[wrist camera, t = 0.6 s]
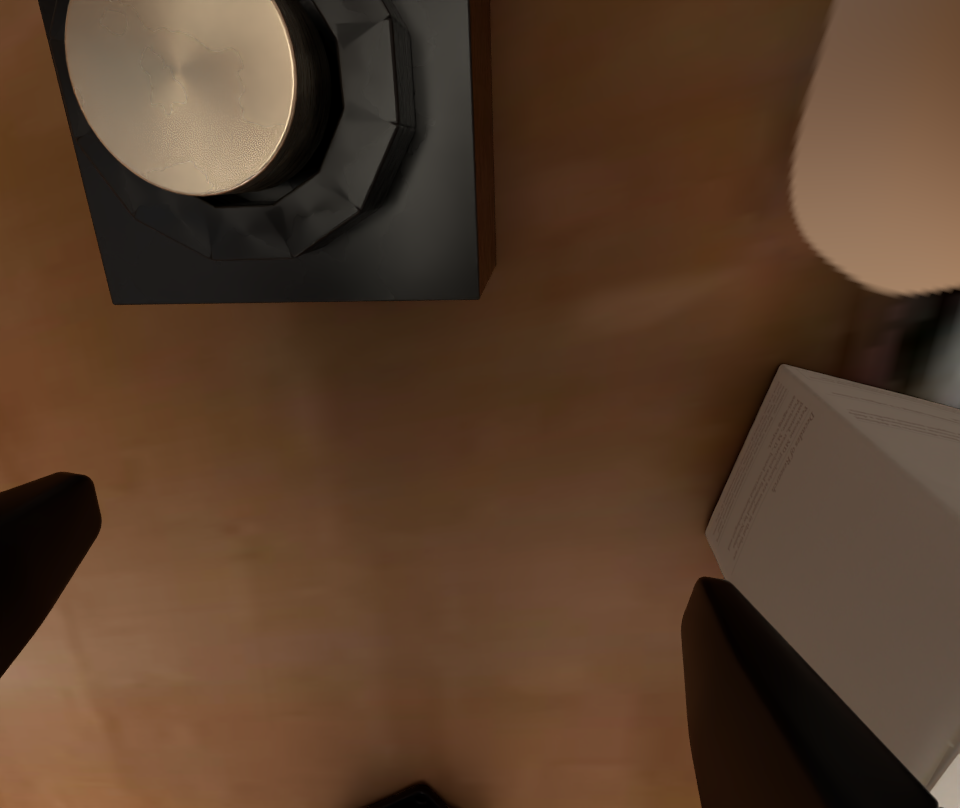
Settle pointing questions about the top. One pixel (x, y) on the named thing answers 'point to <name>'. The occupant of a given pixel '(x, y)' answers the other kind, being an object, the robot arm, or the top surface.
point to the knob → (201, 89)
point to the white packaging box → (857, 554)
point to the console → (326, 177)
